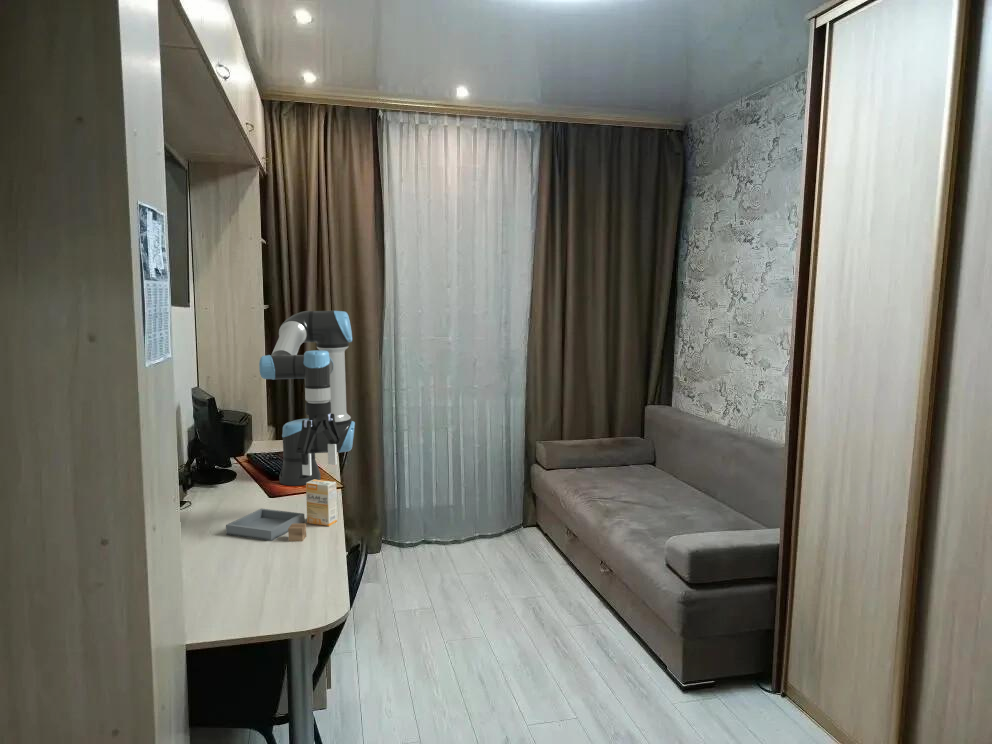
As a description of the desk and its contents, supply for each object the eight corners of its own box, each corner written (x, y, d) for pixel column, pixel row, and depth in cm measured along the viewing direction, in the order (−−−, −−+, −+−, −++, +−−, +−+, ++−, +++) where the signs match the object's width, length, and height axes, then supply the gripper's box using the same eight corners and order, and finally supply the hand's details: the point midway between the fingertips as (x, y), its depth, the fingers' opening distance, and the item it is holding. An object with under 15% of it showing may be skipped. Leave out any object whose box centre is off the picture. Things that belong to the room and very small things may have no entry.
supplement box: (306, 523, 204) (304, 482, 202) (315, 518, 208) (314, 478, 207) (328, 526, 201) (327, 485, 199) (337, 521, 205) (336, 481, 204)
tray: (261, 517, 209) (261, 508, 209) (304, 523, 204) (304, 513, 204) (226, 534, 194) (225, 524, 194) (271, 541, 189) (271, 531, 189)
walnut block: (292, 536, 193) (292, 523, 193) (306, 536, 193) (305, 523, 193) (288, 541, 189) (288, 528, 189) (302, 541, 189) (302, 528, 189)
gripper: (330, 395, 213) (332, 459, 215) (281, 406, 190) (284, 478, 192) (350, 396, 211) (352, 461, 213) (304, 408, 187) (306, 480, 189)
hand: (320, 469), depth 202 cm, fingers open, 13 cm apart
